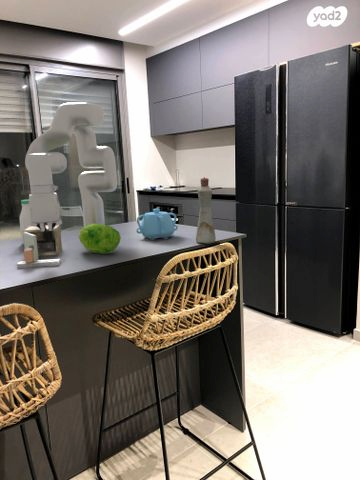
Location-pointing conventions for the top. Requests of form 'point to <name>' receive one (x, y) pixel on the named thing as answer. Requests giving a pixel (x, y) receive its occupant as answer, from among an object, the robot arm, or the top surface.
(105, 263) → the top surface
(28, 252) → the fader knob
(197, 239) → the bottle
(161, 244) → the top surface
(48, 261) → the fader strip
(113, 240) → the lettuce
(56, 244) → the cabinet
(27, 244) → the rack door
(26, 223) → the milk bottle
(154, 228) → the decorative pot
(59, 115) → the robot arm
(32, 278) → the top surface
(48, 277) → the top surface
